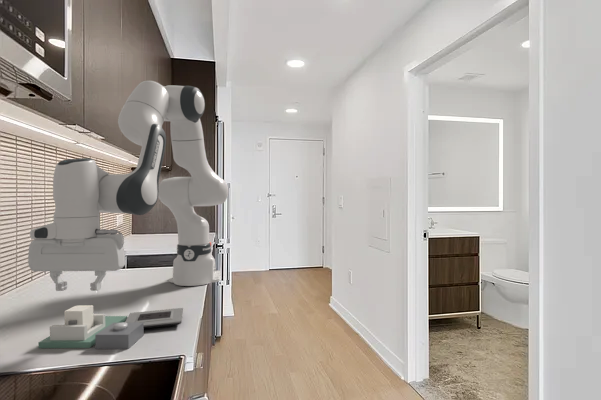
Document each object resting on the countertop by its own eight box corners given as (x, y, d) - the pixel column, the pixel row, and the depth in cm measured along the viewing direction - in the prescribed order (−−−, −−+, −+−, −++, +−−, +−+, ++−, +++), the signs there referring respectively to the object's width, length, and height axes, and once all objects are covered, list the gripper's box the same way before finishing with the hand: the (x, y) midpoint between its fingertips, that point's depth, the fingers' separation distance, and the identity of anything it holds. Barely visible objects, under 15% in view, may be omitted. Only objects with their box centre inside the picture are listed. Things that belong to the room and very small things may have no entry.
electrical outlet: (122, 336, 82) (121, 326, 82) (130, 320, 92) (130, 311, 92) (181, 329, 86) (181, 320, 85) (183, 315, 96) (183, 306, 96)
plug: (76, 326, 82) (76, 305, 82) (93, 326, 82) (93, 305, 82) (63, 334, 77) (62, 312, 77) (81, 334, 77) (80, 312, 77)
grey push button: (113, 335, 81) (113, 319, 81) (143, 335, 81) (143, 319, 81) (95, 348, 74) (95, 331, 74) (128, 348, 74) (128, 330, 74)
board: (85, 320, 91) (84, 304, 91) (127, 320, 91) (127, 304, 91) (38, 348, 75) (38, 328, 75) (89, 347, 75) (89, 328, 75)
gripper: (130, 227, 83) (131, 286, 83) (43, 228, 83) (44, 286, 83) (115, 230, 76) (117, 293, 77) (22, 231, 76) (23, 294, 77)
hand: (78, 290), depth 80 cm, fingers open, 6 cm apart
